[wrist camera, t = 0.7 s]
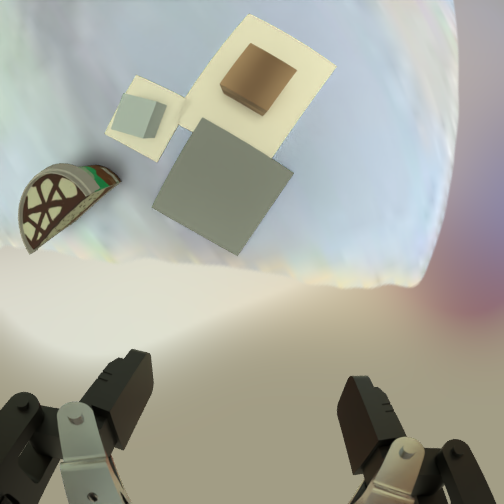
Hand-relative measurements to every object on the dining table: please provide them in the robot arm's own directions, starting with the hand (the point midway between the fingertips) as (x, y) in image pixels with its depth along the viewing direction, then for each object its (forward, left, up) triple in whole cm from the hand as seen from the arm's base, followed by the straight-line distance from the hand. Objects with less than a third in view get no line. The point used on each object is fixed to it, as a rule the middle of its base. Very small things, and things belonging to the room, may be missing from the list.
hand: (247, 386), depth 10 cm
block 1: (-16, +4, -24) cm, 29 cm away
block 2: (-7, +13, -24) cm, 28 cm away
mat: (-4, +1, -24) cm, 25 cm away
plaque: (-16, +4, -24) cm, 29 cm away
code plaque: (-7, +13, -24) cm, 28 cm away
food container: (-20, -7, -25) cm, 32 cm away
